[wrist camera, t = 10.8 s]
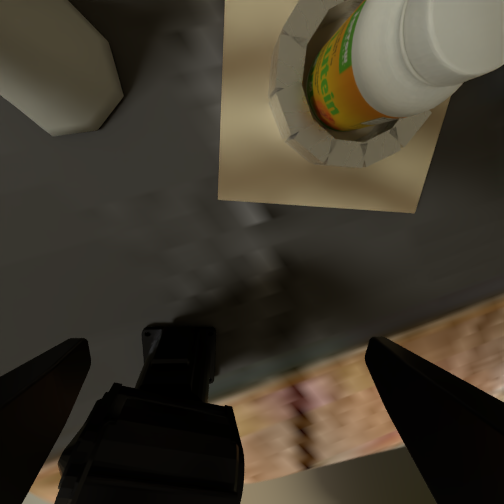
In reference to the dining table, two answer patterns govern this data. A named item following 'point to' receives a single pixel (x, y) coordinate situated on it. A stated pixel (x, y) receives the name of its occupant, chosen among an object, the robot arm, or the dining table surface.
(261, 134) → the birch base plate
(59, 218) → the dining table surface
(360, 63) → the supplement bottle
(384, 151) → the steel ring collar
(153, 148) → the dining table surface
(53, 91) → the flask
